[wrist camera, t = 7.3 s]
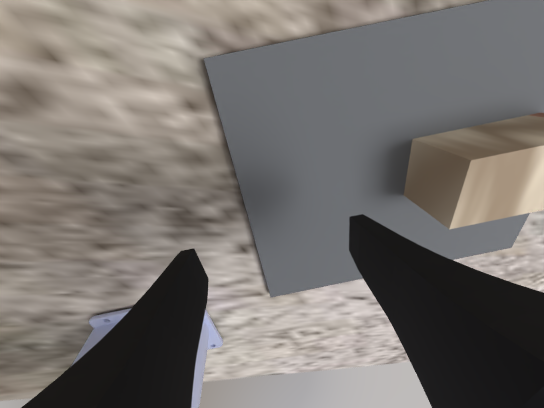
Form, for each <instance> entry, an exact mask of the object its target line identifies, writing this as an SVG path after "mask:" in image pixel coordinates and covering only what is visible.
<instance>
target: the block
mask: <svg viewBox="0 0 544 408" xmlns="http://www.w3.org/2000/svg"><path fill="white" fill-rule="evenodd" d="M404 196H405V197H406V198H408V199H409V200H411V201H412V202H413V203H415V204H416V205H417V206H419V207H420V208H421V209H423V210H424V211H425V212H427V213H428V214H429V215H431V216H432V217H433V218H435V219H436V220H437V221H439V222H440V223H441V224H443V225H444V226H445V227H447V228H448V229H454V228H459V227H463V226H468V225H473V224H478V223H483V222H488V221H492V220H497V219H502V218H507V217H512V216H517V215H521V214H526V213H531V212H536V211H541V210H544V113H536V114H531V115H526V116H521V117H517V118H512V119H507V120H502V121H497V122H492V123H487V124H483V125H478V126H473V127H468V128H463V129H458V130H453V131H449V132H444V133H439V134H434V135H429V136H424V137H419V138H414V139H413V140H412V146H411V152H410V158H409V165H408V171H407V177H406V183H405V190H404Z"/></svg>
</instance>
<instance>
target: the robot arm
mask: <svg viewBox="0 0 544 408" xmlns="http://www.w3.org/2000/svg"><path fill="white" fill-rule="evenodd" d="M349 251H350V254H351V256H352V258H353V260H354V262H355V264H356V267H357V269H358V270H359V272H360V274H361V275H362V277H363V279H364V280H365V282H366V283H367V285H368V287H369V288H370V290H371V291H372V293H373V295H374V296H375V298H376V299H377V301H378V302H379V304H380V306H381V307H382V309H383V310H384V312H385V314H386V315H387V317H388V319H389V320H390V322H391V324H392V326H393V328H394V330H395V332H396V334H397V335H398V337H399V339H400V341H401V343H402V345H403V347H404V349H405V351H406V353H407V355H408V357H409V359H410V362H411V363H412V365H413V368H414V370H415V372H416V374H417V376H418V378H419V380H420V382H421V384H422V387H423V389H424V391H425V393H426V395H427V397H428V400H429V402H430V404H431V406H432V408H544V293H543V292H539V291H536V290H533V289H530V288H527V287H524V286H521V285H517V284H514V283H511V282H509V281H506V280H503V279H500V278H497V277H494V276H492V275H489V274H486V273H483V272H481V271H478V270H475V269H473V268H470V267H468V266H465V265H463V264H460V263H458V262H456V261H453V260H451V259H448V258H446V257H444V256H442V255H439V254H437V253H435V252H433V251H431V250H429V249H427V248H425V247H423V246H420V245H418V244H416V243H415V242H413V241H411V240H409V239H407V238H405V237H403V236H401V235H399V234H397V233H396V232H394V231H392V230H390V229H388V228H387V227H385V226H383V225H381V224H380V223H378V222H376V221H374V220H373V219H371V218H369V217H367V216H365V215H363V214H361V215H356V216H351V217H349ZM207 296H208V277H207V275H206V273H205V271H204V268H203V266H202V264H201V262H200V260H199V258H198V256H197V254H196V252H195V249H189V250H184V251H181V252H180V253H179V254H178V255H177V256H176V257H175V258H174V260H173V261H172V262H171V263H170V264H169V266H168V267H167V268H166V269H165V271H164V272H163V273H162V274H161V275H160V277H159V278H158V279H157V280H156V281H155V282H154V284H153V285H152V286H151V287H150V288H149V290H148V291H147V292H146V293H145V294H144V295H143V296H142V297H141V299H140V300H139V301H138V302H137V303H136V304H135V305H134V306H133V307H132V308H130V309H125V310H121V311H116V312H111V313H106V314H101V315H96V316H93V317H91V319H90V320H89V324H90V325H91V326H92V327H93V328H94V329H93V330H92V332H91V334H90V335H89V337H88V339H87V340H86V342H85V344H84V345H83V347H82V349H81V350H80V352H79V354H78V355H77V357H76V359H75V360H74V362H73V364H72V365H71V367H70V368H69V369H68V370H66V371H65V372H64V373H63V374H62V375H61V376H60V377H58V378H57V379H56V380H55V381H54V382H52V383H51V384H50V385H49V386H48V387H46V388H45V389H44V390H43V391H42V392H40V393H39V394H38V395H37V396H35V397H34V398H33V399H32V400H30V401H29V402H28V403H27V404H25V405H24V406H23V407H22V408H199V405H200V398H201V390H202V383H203V376H204V369H205V362H206V355H207V350H208V349H212V348H217V347H221V346H222V345H223V340H222V338H221V336H220V334H219V332H218V331H217V329H216V327H215V325H214V323H213V322H212V320H211V318H210V316H209V314H208V313H207V311H206V304H207Z"/></svg>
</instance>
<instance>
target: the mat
mask: <svg viewBox="0 0 544 408" xmlns="http://www.w3.org/2000/svg"><path fill="white" fill-rule="evenodd" d="M204 62H205V65H206V69H207V73H208V76H209V80H210V83H211V87H212V90H213V94H214V97H215V101H216V105H217V108H218V112H219V115H220V119H221V122H222V126H223V129H224V133H225V137H226V140H227V144H228V147H229V151H230V154H231V158H232V161H233V165H234V169H235V172H236V176H237V179H238V183H239V186H240V190H241V193H242V197H243V201H244V204H245V208H246V211H247V215H248V218H249V222H250V225H251V229H252V233H253V236H254V240H255V243H256V247H257V250H258V254H259V257H260V261H261V265H262V268H263V272H264V275H265V279H266V282H267V286H268V289H269V293H270V297H275V296H280V295H285V294H290V293H295V292H300V291H304V290H309V289H314V288H319V287H324V286H328V285H333V284H338V283H343V282H348V281H353V280H357V279H362V278H363V277H362V275H361V274H360V272H359V270H358V269H357V267H356V264H355V262H354V260H353V258H352V256H351V254H350V251H349V217H351V216H356V215H361V214H363V215H365V216H367V217H369V218H371V219H373V220H374V221H376V222H378V223H380V224H381V225H383V226H385V227H387V228H388V229H390V230H392V231H394V232H396V233H397V234H399V235H401V236H403V237H405V238H407V239H409V240H411V241H413V242H415V243H416V244H418V245H420V246H423V247H425V248H427V249H429V250H431V251H433V252H435V253H437V254H439V255H442V256H444V257H446V258H448V259H451V260H454V259H459V258H464V257H468V256H473V255H478V254H483V253H488V252H493V251H497V250H502V249H507V248H511V247H512V246H513V244H514V242H515V240H516V238H517V236H518V234H519V232H520V230H521V229H522V227H523V225H524V223H525V221H526V219H527V217H528V215H529V214H530V213H526V214H521V215H517V216H512V217H507V218H502V219H497V220H492V221H488V222H483V223H478V224H473V225H468V226H463V227H459V228H454V229H448V228H447V227H445V226H444V225H443V224H441V223H440V222H439V221H437V220H436V219H435V218H433V217H432V216H431V215H429V214H428V213H427V212H425V211H424V210H423V209H421V208H420V207H419V206H417V205H416V204H415V203H413V202H412V201H411V200H409V199H408V198H406V197H405V196H404V190H405V183H406V177H407V171H408V165H409V158H410V152H411V146H412V140H413V139H414V138H419V137H424V136H429V135H434V134H439V133H444V132H449V131H453V130H458V129H463V128H468V127H473V126H478V125H483V124H487V123H492V122H497V121H502V120H507V119H512V118H517V117H521V116H526V115H531V114H536V113H544V0H488V1H483V2H478V3H473V4H468V5H464V6H459V7H454V8H449V9H444V10H439V11H434V12H429V13H424V14H419V15H414V16H410V17H405V18H400V19H395V20H390V21H385V22H380V23H375V24H370V25H365V26H361V27H356V28H351V29H346V30H341V31H336V32H331V33H326V34H321V35H316V36H311V37H307V38H302V39H297V40H292V41H287V42H282V43H277V44H272V45H267V46H262V47H258V48H253V49H248V50H243V51H238V52H233V53H228V54H223V55H218V56H213V57H208V58H204Z"/></svg>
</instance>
